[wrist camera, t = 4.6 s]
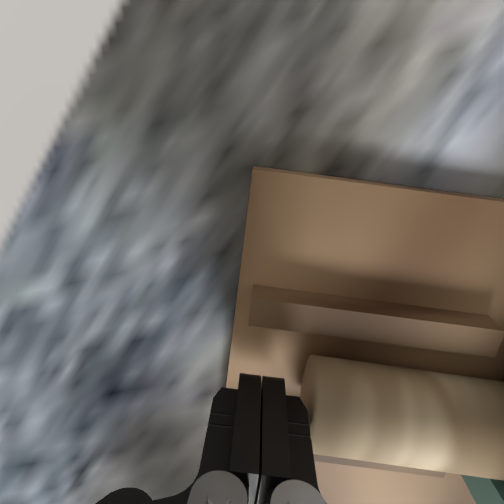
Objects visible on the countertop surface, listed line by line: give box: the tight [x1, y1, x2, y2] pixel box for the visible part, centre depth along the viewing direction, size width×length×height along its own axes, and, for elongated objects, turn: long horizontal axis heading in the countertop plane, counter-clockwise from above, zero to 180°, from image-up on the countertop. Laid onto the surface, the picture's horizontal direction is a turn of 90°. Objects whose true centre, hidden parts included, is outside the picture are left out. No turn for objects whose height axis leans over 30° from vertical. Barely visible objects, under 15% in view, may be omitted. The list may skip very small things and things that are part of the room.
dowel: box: [300, 355, 504, 481], centre depth 12 cm, size 8×3×3 cm, turn 82°
